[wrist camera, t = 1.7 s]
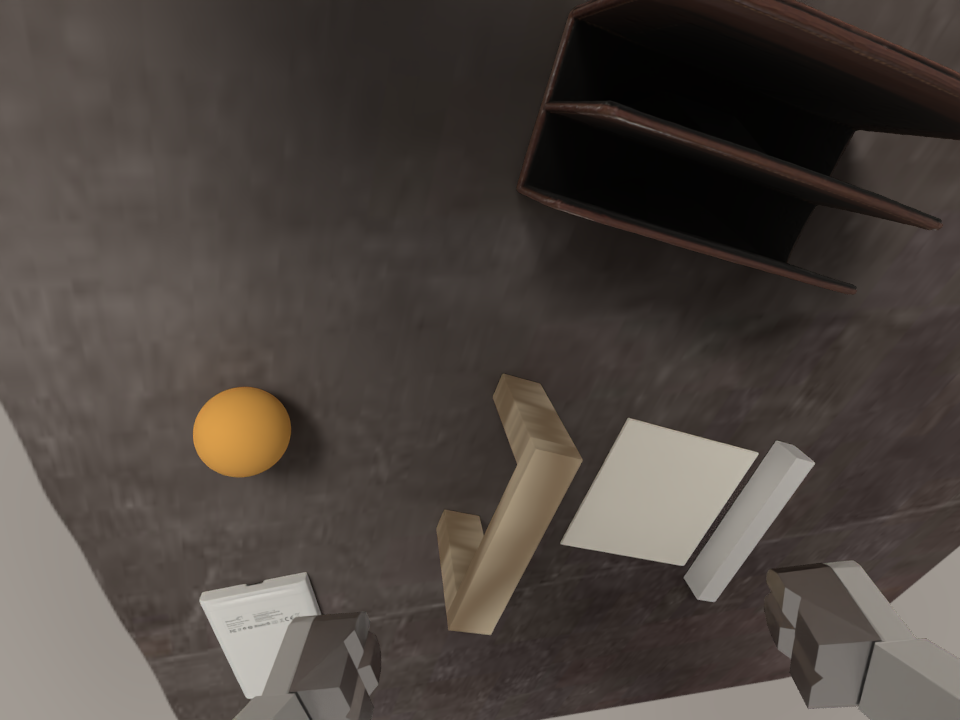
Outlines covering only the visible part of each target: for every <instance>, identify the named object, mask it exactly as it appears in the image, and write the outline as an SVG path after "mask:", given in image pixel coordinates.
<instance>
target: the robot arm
mask: <svg viewBox="0 0 960 720" xmlns="http://www.w3.org/2000/svg"><path fill="white" fill-rule="evenodd" d="M766 583H767V584H768V586H769V588H770V590H771V592H770V593H769V594H768V595H767V596H766V597H765V601H764V612H765V617H766V622H767V626H768V628H769V631H770V634H771V636H772V638H773V640H774V642H775V645H776V647H777V649H778V650H780V651H781V652H782V653H784V654H785V655H786V656H788V657H789V658H790V659H791V664H790V672H789V673H790V674H791V676H792V678H793V680H794V682H795V684H796V686H797V688H798V690H799V692H800V694H801V696H802V698H803V699H804V702H805V704H806V706H807V708H808V709H814V708H835V707H856V706H859V708H858V709H859V710H860V711H861V712H862V713H863V714H864V715H866V716H867V717H868V718H869V719H870V720H960V658H958V657H956V656H955V655H953V654H951V653H950V652H948V651H946V650H945V649H943V648H941V647H940V646H938V645H936V644H935V643H933V642H931V641H930V640H928V639H926V638H918V639H917V638H916V637H915V636H914V634H913V633H912V632H911V631H910V629H909V628H908V627H907V625H906V624H905V623H904V621H903V620H902V619H901V618H900V616H899V615H898V614H897V612H896V611H895V610H894V609H893V607H892V606H891V605H890V603H889V602H888V601H887V600H886V598H885V597H884V596H883V594H882V593H881V592H880V590H879V589H878V588H877V587H876V585H875V584H874V583H873V581H872V580H871V579H870V578H869V576H868V575H867V574H866V572H865V571H864V570H863V569H862V567H861V566H860V565H859V564H858V563H856V562H855V561H853V560H851V561H840V562H831V563H824V564H823V563H816V564H807V565H799V566H790V567H782V568H773V569H770V570H769V571H768V573H767V579H766ZM369 626H370V620H369V618H368V615H367V613H366V612H353V613H339V614H326V615H313V616H302V617H295V618H294V619H293V620H292V621H291V623H290V624H289V625H288V628H287V631H286V633H285V636H284V638H283V641H282V644H281V646H280V649H279V651H278V654H277V657H276V659H275V662H274V664H273V667H272V670H271V672H270V675H269V678H268V680H267V683H266V685H265V688H264V691H263V693H262V696H256V697H254V698H253V699H252V700H251V701H250V702H249V703H248V704H247V705H246V706H245V707H244V708H243V709H242V710H241V711H240V712H239V714H238V715H237V716H236V717H235V718H234V719H233V720H371V719H372V714H373V709H374V706H373V704H372V701H371V699H370V697H369V695H370V694H371V693H372V691H373V690H374V689H375V688H376V686H377V685H378V683H379V677H380V672H381V650H380V645H379V641H378V639H377V636H376V635H375V634H373V633H371V632H370V631H369Z"/></svg>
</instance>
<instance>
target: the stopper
mask: <svg viewBox="0 0 960 720" xmlns="http://www.w3.org/2000/svg"><path fill="white" fill-rule="evenodd" d="M814 464H815V462H814V461H812V460H811V459H810V458H809V457H808V456H806V455H805V454H804V453H803V452H801V451H800V450H799V449H798V448H797V447H795V446H794V445H791V444H787V443H784V442H780V441H777V440H776V441H775V443H774V444H773V446H772V447H771V449H770V450H769V452H768V453H767V455H766V456H765V458H764V459H763V461H762V462H761V464H760V465H759V467H758V468H757V470H756V471H755V473H754V474H753V475H752V477H751V478H750V480H749V481H748V483H747V484H746V486H745V487H744V489H743V490H742V492H741V493H740V495H739V496H738V498H737V499H736V501H735V502H734V504H733V505H732V507H731V508H730V510H729V511H728V512H727V514H726V515H725V517H724V518H723V520H722V521H721V523H720V524H719V526H718V527H717V529H716V530H715V532H714V533H713V535H712V536H711V538H710V539H709V541H708V542H707V544H706V545H705V546H704V548H703V549H702V551H701V552H700V554H699V555H698V557H697V558H696V560H695V561H694V563H693V564H692V566H691V567H690V569H689V570H688V572H687V573H686V575H685V576H684V579H685V581H686V582H687V584H688V586H689V587H690V589H691V590H692V592H693V593H694V595H695V597H696V598H697V600H704V601H710V602H715V601H716V600H717V599H718V597H719V596H720V594H721V593H722V592H723V590H724V589H725V587H726V586H727V585H728V583H729V582H730V581H731V579H732V578H733V576H734V575H735V574H736V572H737V571H738V569H739V568H740V567H741V565H742V564H743V563H744V561H745V560H746V558H747V557H748V556H749V554H750V553H751V551H752V550H753V549H754V547H755V546H756V545H757V543H758V542H759V540H760V539H761V538H762V536H763V535H764V533H765V532H766V531H767V529H768V528H769V527H770V525H771V524H772V522H773V521H774V520H775V518H776V517H777V515H778V514H779V513H780V511H781V510H782V508H783V507H784V506H785V504H786V503H787V502H788V500H789V499H790V497H791V496H792V495H793V493H794V492H795V490H796V489H797V488H798V486H799V485H800V484H801V482H802V481H803V479H804V478H805V477H806V475H807V474H808V472H809V471H810V470H811V468H812V467H813V466H814Z"/></svg>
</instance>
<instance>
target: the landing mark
mask: <svg viewBox="0 0 960 720" xmlns="http://www.w3.org/2000/svg"><path fill="white" fill-rule="evenodd" d="M758 454H759V453H758V452H755V451H751V450H747V449H743V448H740V447H736V446H732V445H729V444H725V443H721V442H717V441H714V440H710V439H706V438H702V437H699V436H695V435H691V434H687V433H684V432H680V431H676V430H673V429H669V428H665V427H661V426H658V425H654V424H650V423H646V422H643V421H639V420H635V419H631V418H628V419H627V421H626V422H625V424H624V426H623V428H622V430H621V432H620V433H619V435H618V437H617V439H616V441H615V443H614V444H613V446H612V448H611V450H610V452H609V454H608V455H607V457H606V459H605V461H604V463H603V465H602V466H601V468H600V470H599V472H598V474H597V476H596V478H595V479H594V481H593V483H592V485H591V487H590V489H589V490H588V492H587V494H586V496H585V498H584V500H583V501H582V503H581V505H580V507H579V509H578V511H577V512H576V514H575V516H574V518H573V520H572V522H571V523H570V525H569V527H568V529H567V531H566V533H565V534H564V536H563V538H562V540H561V542H560V544H562V545H568V546H573V547H579V548H585V549H590V550H596V551H601V552H607V553H613V554H618V555H624V556H629V557H635V558H641V559H646V560H652V561H658V562H663V563H669V564H674V565H680V566H684V565H685V563H686V562H687V560H688V559H689V557H690V556H691V554H692V553H693V551H694V550H695V549H696V547H697V546H698V544H699V543H700V541H701V540H702V538H703V537H704V535H705V534H706V532H707V531H708V529H709V528H710V526H711V525H712V523H713V522H714V520H715V519H716V517H717V516H718V514H719V513H720V511H721V510H722V508H723V507H724V505H725V504H726V502H727V501H728V499H729V498H730V496H731V495H732V493H733V492H734V490H735V489H736V487H737V486H738V484H739V483H740V481H741V480H742V478H743V477H744V475H745V474H746V472H747V471H748V469H749V468H750V466H751V465H752V463H753V462H754V460H755V459H756V457H757V456H758Z"/></svg>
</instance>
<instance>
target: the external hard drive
mask: <svg viewBox="0 0 960 720" xmlns="http://www.w3.org/2000/svg"><path fill="white" fill-rule="evenodd" d="M199 601H200V603H201V605H202V608H203V610H204V611H205V614H206V616H207V618H208V620H209V622H210V624H211V626H212V628H213V630H214V633H215V635H216V637H217V639H218V641H219V643H220V645H221V647H222V649H223V651H224V653H225V655H226V657H227V660H228V662H229V664H230V666H231V668H232V670H233V672H234V674H235V676H236V678H237V680H238V682H239V684H240V686H241V688H242V690H243V692H244V695H245V697H246V698H248V699H253V698H254V697H256V696H262V693H263V691H264V688H265V685H266V683H267V680H268V678H269V675H270V672H271V670H272V667H273V664H274V662H275V659H276V657H277V654H278V651H279V649H280V646H281V644H282V641H283V638H284V636H285V633H286V631H287V628H288V625H289V624H290V623H291V621H292V620H293V619H294V618H295V617H302V616H313V615H321V612H320V609H319V606H318V603H317V600H316V597H315V594H314V592H313V589H312V586H311V583H310V580H309V577H308V574H307V572H304V573H299V574H294V575H288V576H283V577H278V578H273V579H268V580H264V581H263V582H261V583H256V584H252V585H247V584H243V585H237V586H232V587H227V588H222V589H217V590H212V591H207V592H202V595H201V597H200V600H199Z"/></svg>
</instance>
